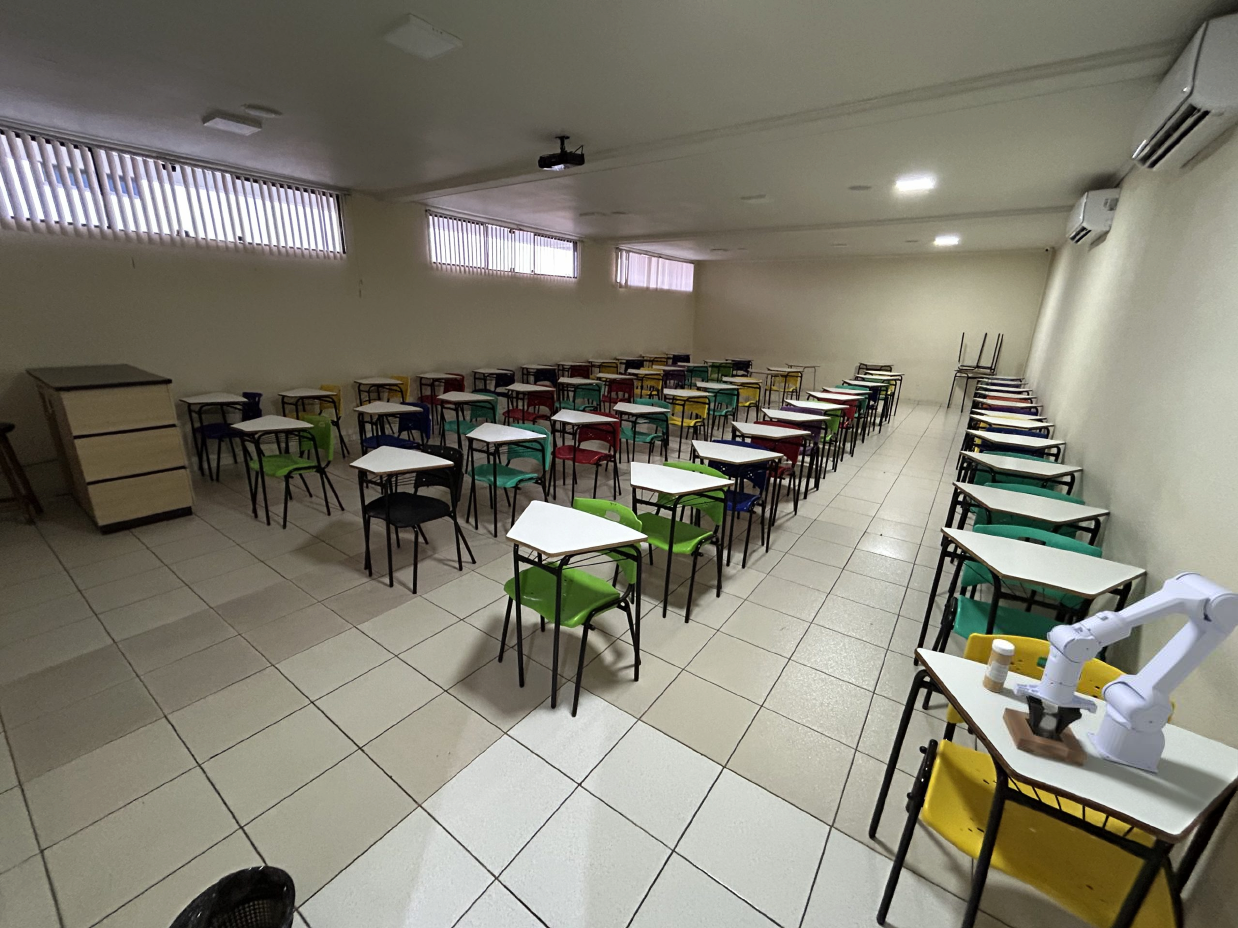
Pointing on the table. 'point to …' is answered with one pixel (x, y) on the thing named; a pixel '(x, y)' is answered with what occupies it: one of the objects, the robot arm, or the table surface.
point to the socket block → (1043, 739)
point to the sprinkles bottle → (998, 665)
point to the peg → (1047, 724)
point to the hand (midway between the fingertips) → (1044, 727)
